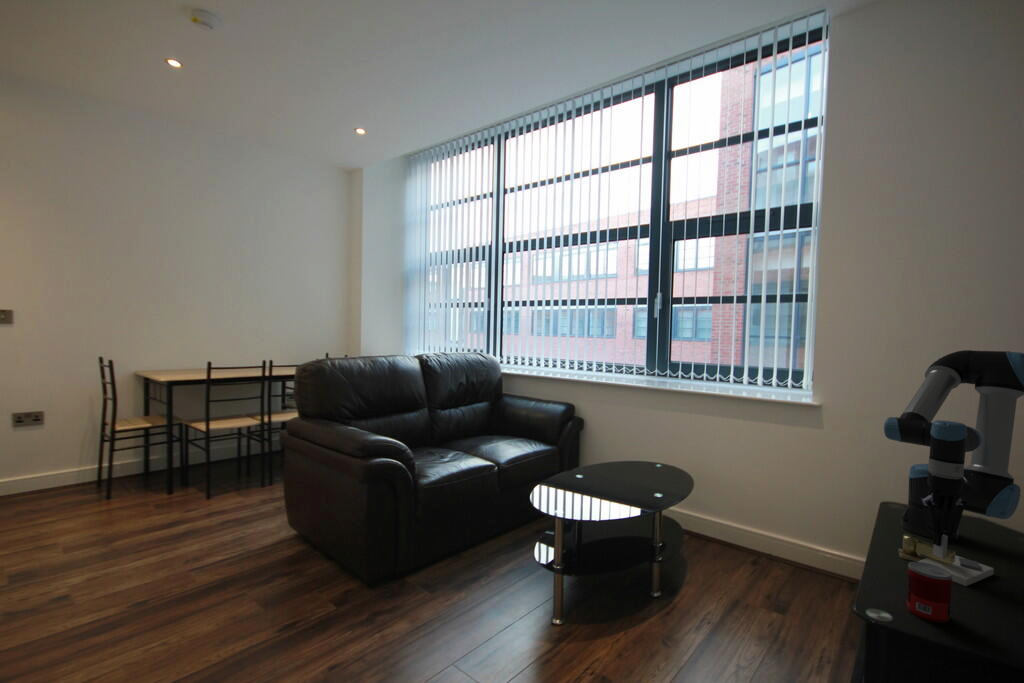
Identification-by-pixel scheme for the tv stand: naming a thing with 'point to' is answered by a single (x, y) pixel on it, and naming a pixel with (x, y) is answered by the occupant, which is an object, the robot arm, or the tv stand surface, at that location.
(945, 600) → the canned food
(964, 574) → the white flat block
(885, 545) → the tv stand surface
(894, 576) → the tv stand surface
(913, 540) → the latch bar
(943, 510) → the robot arm
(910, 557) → the jamb plate
